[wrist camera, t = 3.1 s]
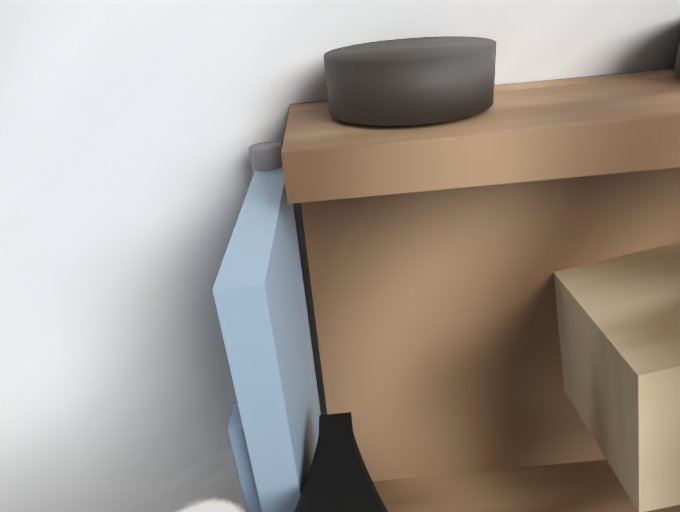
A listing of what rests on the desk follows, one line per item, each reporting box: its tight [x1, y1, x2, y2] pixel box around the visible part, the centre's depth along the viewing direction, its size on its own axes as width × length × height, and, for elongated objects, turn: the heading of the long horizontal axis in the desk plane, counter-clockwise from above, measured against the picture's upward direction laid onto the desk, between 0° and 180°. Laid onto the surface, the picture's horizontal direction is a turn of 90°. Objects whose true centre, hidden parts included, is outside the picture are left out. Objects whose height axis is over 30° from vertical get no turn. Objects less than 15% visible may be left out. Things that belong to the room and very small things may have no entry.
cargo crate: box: [554, 242, 680, 512], centre depth 14 cm, size 4×4×4 cm
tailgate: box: [212, 142, 321, 512], centre depth 14 cm, size 1×12×6 cm, turn 4°
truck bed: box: [281, 37, 680, 512], centre depth 15 cm, size 14×17×4 cm
